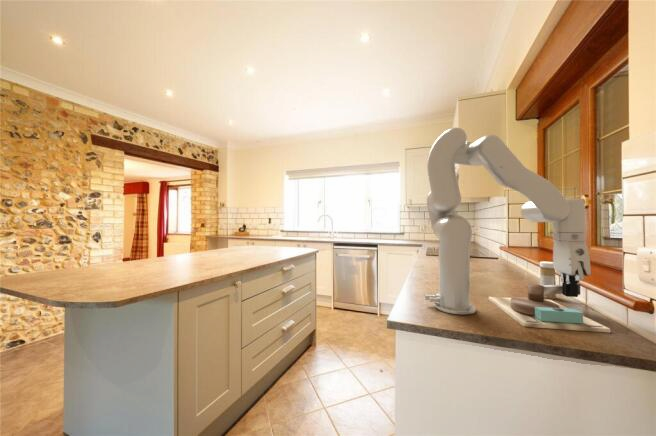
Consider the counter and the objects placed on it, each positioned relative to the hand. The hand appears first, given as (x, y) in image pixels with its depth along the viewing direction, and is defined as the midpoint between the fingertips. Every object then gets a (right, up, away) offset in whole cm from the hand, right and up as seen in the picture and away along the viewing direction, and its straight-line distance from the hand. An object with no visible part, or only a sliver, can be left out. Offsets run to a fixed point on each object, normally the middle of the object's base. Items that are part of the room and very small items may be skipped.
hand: (570, 295), depth 81 cm
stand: (-9, -6, +1) cm, 11 cm away
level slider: (-11, -4, -8) cm, 14 cm away
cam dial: (-7, -4, +2) cm, 8 cm away
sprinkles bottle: (+8, -6, +17) cm, 20 cm away
